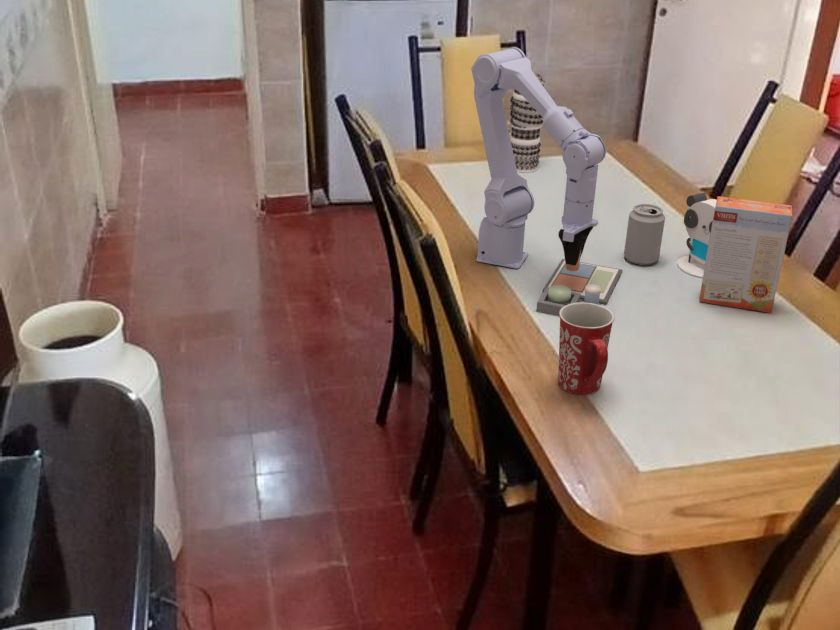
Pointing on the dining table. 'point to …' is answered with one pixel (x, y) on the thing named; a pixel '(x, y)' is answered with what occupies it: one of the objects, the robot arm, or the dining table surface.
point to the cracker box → (745, 253)
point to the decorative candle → (525, 132)
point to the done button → (559, 294)
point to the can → (644, 234)
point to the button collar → (554, 307)
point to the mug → (583, 346)
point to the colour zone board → (586, 279)
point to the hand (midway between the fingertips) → (573, 260)
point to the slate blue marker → (592, 294)
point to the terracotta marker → (572, 267)
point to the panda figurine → (697, 233)
